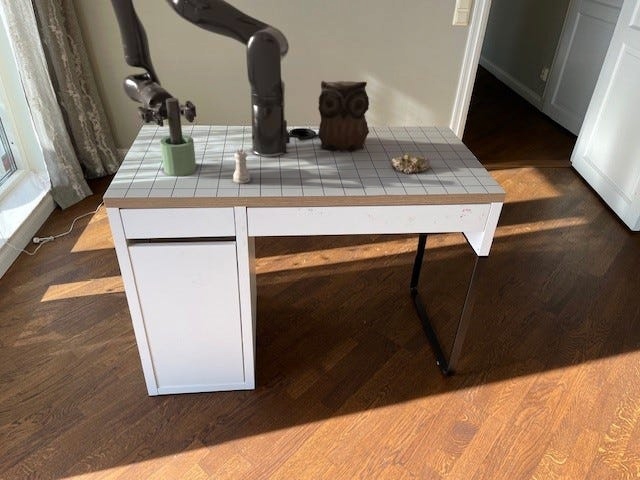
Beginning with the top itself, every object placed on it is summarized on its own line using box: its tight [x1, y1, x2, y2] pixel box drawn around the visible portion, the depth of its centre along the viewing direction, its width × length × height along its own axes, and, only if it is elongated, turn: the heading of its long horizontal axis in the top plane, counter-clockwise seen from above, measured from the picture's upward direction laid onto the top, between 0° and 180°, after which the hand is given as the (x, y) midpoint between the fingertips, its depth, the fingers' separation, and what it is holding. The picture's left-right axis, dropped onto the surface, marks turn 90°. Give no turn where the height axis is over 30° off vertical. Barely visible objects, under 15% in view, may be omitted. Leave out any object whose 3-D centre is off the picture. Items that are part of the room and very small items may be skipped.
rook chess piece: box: [232, 149, 251, 185], centre depth 124 cm, size 4×4×8 cm
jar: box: [159, 134, 197, 177], centre depth 128 cm, size 8×8×8 cm
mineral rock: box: [391, 153, 431, 174], centre depth 137 cm, size 11×4×8 cm
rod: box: [166, 97, 183, 145], centre depth 125 cm, size 4×4×18 cm
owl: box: [317, 80, 370, 153], centre depth 143 cm, size 13×13×20 cm
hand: (176, 120), depth 121 cm, fingers open, 7 cm apart
